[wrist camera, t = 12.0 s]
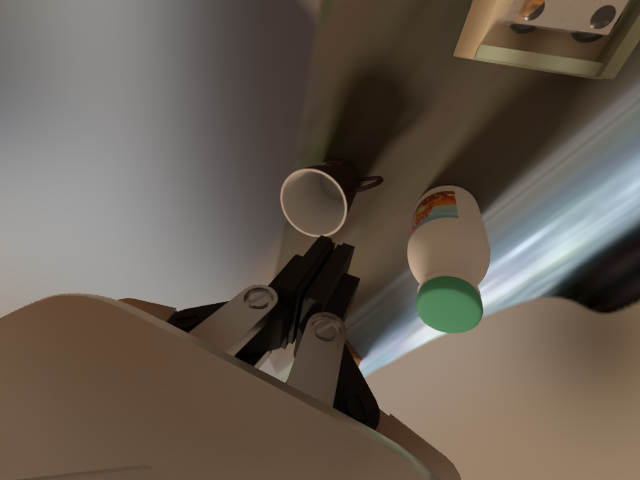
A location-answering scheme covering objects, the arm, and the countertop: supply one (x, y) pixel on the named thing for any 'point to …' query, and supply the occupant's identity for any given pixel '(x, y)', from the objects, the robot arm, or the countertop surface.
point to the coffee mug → (322, 196)
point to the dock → (547, 43)
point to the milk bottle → (448, 258)
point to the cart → (565, 17)
